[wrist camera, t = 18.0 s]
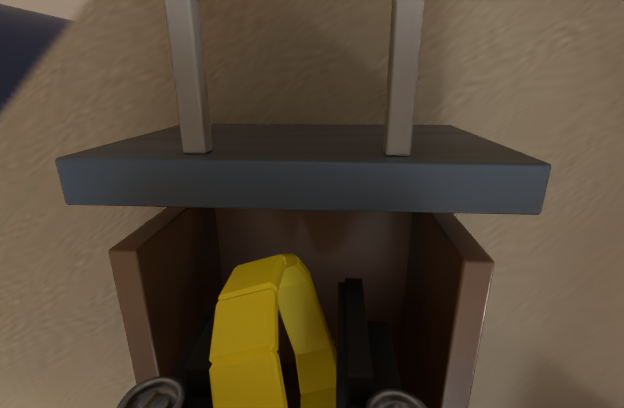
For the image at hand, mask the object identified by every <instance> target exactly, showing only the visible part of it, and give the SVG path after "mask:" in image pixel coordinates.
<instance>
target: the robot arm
mask: <svg viewBox="0 0 624 408" xmlns="http://www.w3.org/2000/svg"><path fill="white" fill-rule="evenodd" d="M214 317H215V311H214V313H213V314H205V315H204V316H203V317H202V318H201V320H200V322H199V324H198V325H197V327H196V329H195V330H194V332H193V334H192V336H191V337H190V339H189V341H188V342H187V344H186V346H185V348H184V349H183V351H182V353H181V354H180V356H179V358H178V360H177V361H176V363H175V365H174V366H173V368H172V370H171V372H170V373H169V375H168V376H157V377H153V378H150V379H147V380H145V381H143V382H141V383H139V384H137V385H136V386H134V387H133V388H132V389H131V390H130V391H128V392H127V394H126V395H125V396H124V397H123V399H122V400H121V401H120V403H119V405H118V406H117V408H213V402H212V392H211V383H210V374H209V369H210V367H211V366H212V363H211V362H210V361H209V357H210V349H211V341H212V333H213V325H214ZM336 408H427V407H426V406H425V405H424V403H423V402H422V401H421V400H419V399H418V398H417V397H416V396H415V395H413V394H411V393H409V392H407V391H404V390H402V387H401V382H400V377H399V372H398V367H397V362H396V358H395V353H394V348H393V343H392V338H391V333H390V328H389V324H388V322H385V321H367V317H366V308H365V300H364V291H363V282H362V278H345V282H338V311H337V356H336Z"/></svg>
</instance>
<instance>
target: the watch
mask: <svg viewBox="0 0 624 408" xmlns="http://www.w3.org/2000/svg"><path fill="white" fill-rule="evenodd" d="M278 310H279V312H280V315H281V318H282V320H283V323H284V326H285V328H286V331H287V334H288V337H289V339H290V342H291V345H292V347H293V350H294V353H295V359H296V366H297V373H298V381H299V388H300V394H301V395H302V396H301V408H336V356H337V353H336V347H335V346H334V344H335V341H334V339H332V337H331V334H330V331H329V328H328V325H327V322H326V319H325V316H324V313H323V311H322V308H321V305H320V302H319V299H318V296H317V293H316V290H315V287H314V284H313V281H312V278H311V275H310V272H309V271H308V269H307V268H306V267H305V265H304V264H303V263H302V261H301V260H300V259H299V258H298V257H297V256H296V255H294V254H293V253H289V254H279V255H275V256H271V257H268V258H264V259H260V260H256V261H253V262H249V263H245V264H241V265H238V266H237V267H236V268H234V270H233V272H232V274H231V275H230V277H229V279H228V281H227V283H226V284H225V286H224V288H223V290H222V292H221V294H220V295H219V297H218V302H217V304H216V309H215V317H214V325H213V333H212V341H211V349H210V357H209V361H210V362H211V363H212V366H211V367H210V369H209V374H210V383H211V392H212V402H213V408H288V406H287V400H286V394H285V388H284V382H283V376H282V370H281V364H280V358H279V354H278V353H277V351H278Z"/></svg>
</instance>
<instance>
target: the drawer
mask: <svg viewBox="0 0 624 408" xmlns="http://www.w3.org/2000/svg"><path fill="white" fill-rule="evenodd" d="M164 2H165V10H166V18H167V26H168V34H169V42H170V50H171V58H172V66H173V74H174V82H175V90H176V98H177V106H178V114H179V122H180V125H178V126H174V127H170V128H167V129H163V130H159V131H155V132H152V133H148V134H144V135H140V136H137V137H133V138H129V139H126V140H122V141H118V142H114V143H111V144H107V145H103V146H100V147H96V148H92V149H88V150H85V151H81V152H77V153H74V154H70V155H66V156H62V157H59V158H56V160H55V162H56V166H57V170H58V174H59V178H60V182H61V186H62V190H63V194H64V198H65V202H66V204H68V205H104V206H151V207H167V208H166V209H164V210H163V211H162V212H160V213H159V214H157V215H156V216H155V217H153V218H152V219H151V220H149V221H148V222H146V223H145V224H144V225H142V226H141V227H140V228H138V229H137V230H135V231H134V232H133V233H131V234H130V235H129V236H127V237H126V238H125V239H123V240H122V241H120V242H119V243H118V244H116V245H115V246H114V247H112V248H111V249H109V257H110V261H111V266H112V271H113V275H114V280H115V285H116V289H117V294H118V299H119V303H120V308H121V313H122V317H123V322H124V327H125V331H126V336H127V341H128V345H129V350H130V355H131V359H132V364H133V369H134V373H135V378H136V383H137V384H139V383H141V382H143V381H145V380H147V379H150V378H153V377H157V376H168V375H169V373H170V372H171V370H172V368H173V366H174V365H175V363H176V361H177V360H178V358H179V356H180V354H181V353H182V351H183V349H184V348H185V346H186V344H187V342H188V341H189V339H190V337H191V336H192V334H193V332H194V330H195V329H196V327H197V325H198V324H199V322H200V320H201V318H202V317H203V316H204V315H205V314H213V313H214V311H215V309H216V304H217V302H218V297H219V295H220V294H221V292H222V290H223V288H224V286H225V284H226V283H227V281H228V279H229V277H230V275H231V274H232V272H233V270H234V268H236V267H237V266H238V265H241V264H245V263H249V262H253V261H256V260H260V259H264V258H268V257H271V256H275V255H279V254H289V253H293V254H294V255H296V256H297V257H298V258H299V259H300V260H301V261H302V263H303V264H304V265H305V267H306V268H307V269H308V271H309V272H310V275H311V278H312V281H313V284H314V287H315V290H316V293H317V296H318V299H319V302H320V305H321V308H322V311H323V313H324V316H325V319H326V322H327V325H328V328H329V331H330V334H331V337H332V339H334V341H335V344H334V346H335V347H336V353H337V311H338V282H345V278H362V282H363V291H364V300H365V308H366V317H367V321H385V322H388V324H389V328H390V333H391V338H392V343H393V348H394V353H395V358H396V362H397V367H398V372H399V377H400V382H401V387H402V390H404V391H407V392H409V393H411V394H413V395H415V396H416V397H417V398H418V399H419V400H421V401H422V402H423V403H424V405H425V406H426V407H427V408H468V404H469V399H470V393H471V388H472V383H473V377H474V372H475V366H476V361H477V356H478V350H479V345H480V339H481V334H482V329H483V323H484V318H485V312H486V307H487V302H488V296H489V291H490V286H491V280H492V275H493V269H494V261H493V260H492V258H491V257H490V256H489V255H488V254H487V253H486V252H485V250H484V249H483V248H482V247H481V246H480V245H479V243H478V242H477V241H476V240H475V239H474V238H473V236H472V235H471V234H470V233H469V232H468V231H467V229H466V228H465V227H464V226H463V225H462V224H461V223H460V221H459V220H458V219H457V218H456V217H455V216H454V214H453V213H481V214H528V215H538V214H540V213H541V210H542V206H543V201H544V197H545V192H546V188H547V183H548V179H549V174H550V170H551V165H550V164H549V163H546V162H544V161H541V160H539V159H536V158H533V157H531V156H528V155H526V154H523V153H521V152H518V151H515V150H513V149H510V148H508V147H505V146H503V145H500V144H497V143H495V142H492V141H490V140H487V139H485V138H482V137H479V136H477V135H474V134H472V133H469V132H467V131H464V130H461V129H459V128H456V127H454V126H451V125H413V122H414V111H415V99H416V88H417V77H418V65H419V54H420V42H421V31H422V20H423V8H424V0H392V14H391V30H390V46H389V62H388V78H387V94H386V111H385V125H283V124H210V115H209V105H208V94H207V84H206V74H205V63H204V53H203V43H202V32H201V22H200V12H199V2H198V0H164ZM277 353H278V354H279V358H280V364H281V370H282V376H283V382H284V388H285V394H286V400H287V406H288V408H301V396H302V395H301V394H300V388H299V381H298V373H297V366H296V359H295V353H294V350H293V347H292V345H291V342H290V339H289V337H288V334H287V331H286V328H285V326H284V323H283V320H282V318H281V315H280V312H279V310H278V351H277Z"/></svg>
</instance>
